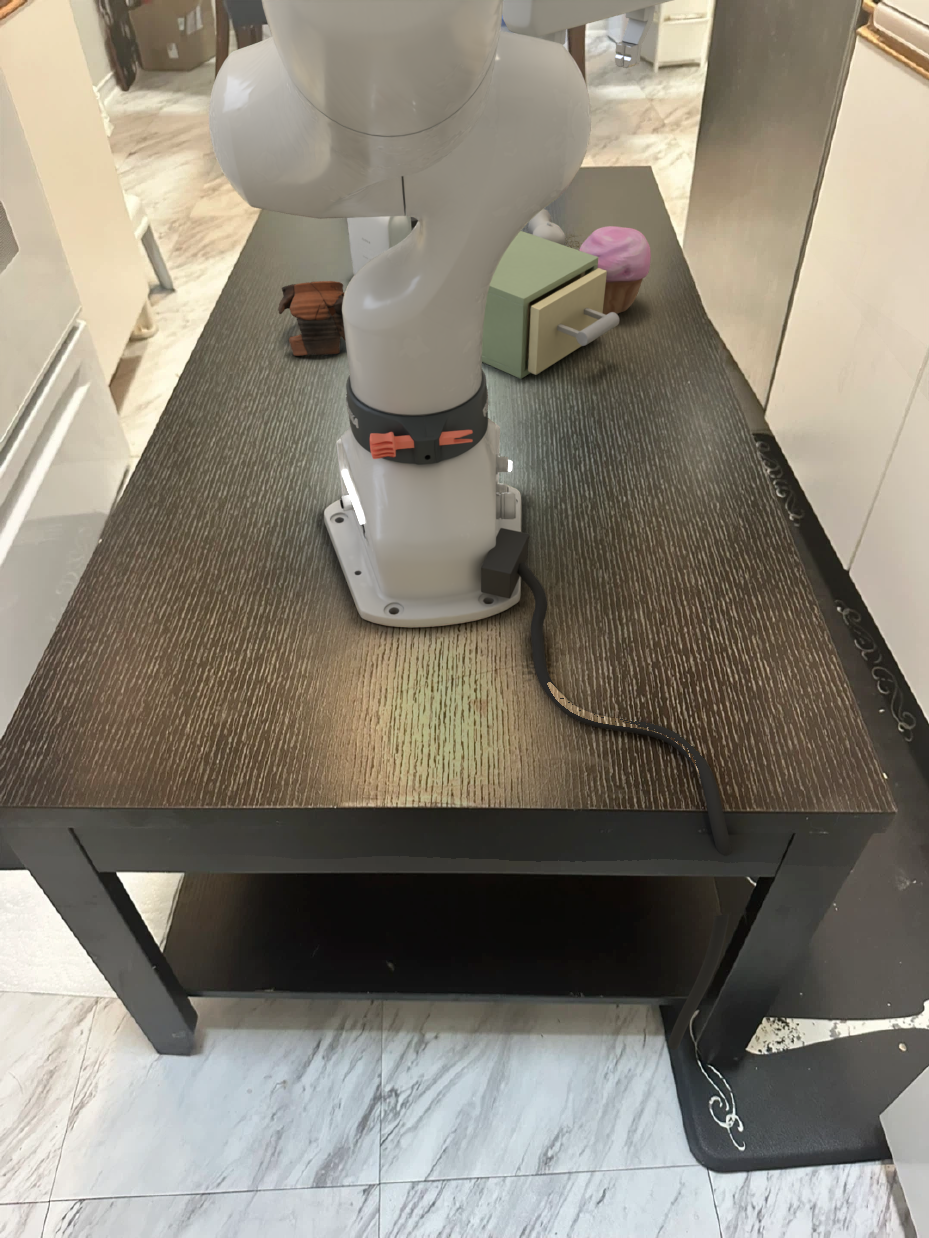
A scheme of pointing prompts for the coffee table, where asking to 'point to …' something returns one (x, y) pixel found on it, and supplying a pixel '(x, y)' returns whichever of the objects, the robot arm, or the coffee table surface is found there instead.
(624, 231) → the cupcake
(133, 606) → the coffee table surface
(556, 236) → the smooth white sculpture
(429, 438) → the robot arm
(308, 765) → the coffee table surface
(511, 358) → the cabinet
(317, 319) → the pottery mug
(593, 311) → the drawer
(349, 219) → the photo printer
